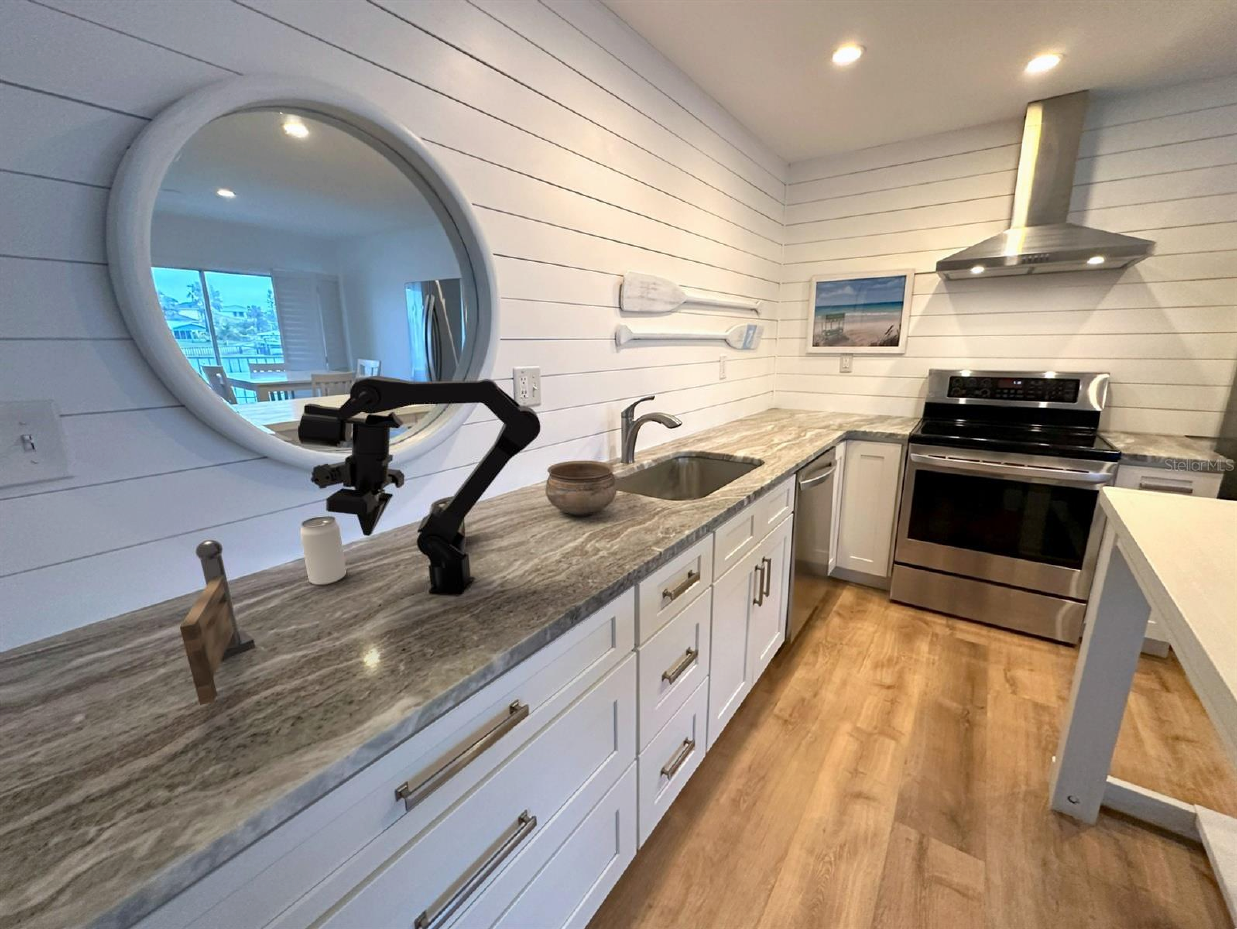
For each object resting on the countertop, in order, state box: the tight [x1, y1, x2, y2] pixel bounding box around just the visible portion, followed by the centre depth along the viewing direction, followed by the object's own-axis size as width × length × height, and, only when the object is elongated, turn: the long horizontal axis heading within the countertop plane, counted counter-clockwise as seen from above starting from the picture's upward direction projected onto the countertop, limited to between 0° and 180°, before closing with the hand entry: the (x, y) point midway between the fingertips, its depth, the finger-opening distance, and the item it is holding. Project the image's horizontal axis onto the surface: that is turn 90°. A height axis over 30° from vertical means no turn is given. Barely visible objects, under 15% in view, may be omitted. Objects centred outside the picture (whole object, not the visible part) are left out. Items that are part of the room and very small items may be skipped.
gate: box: [179, 575, 239, 706], centre depth 66 cm, size 14×1×11 cm, turn 26°
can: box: [300, 515, 347, 586], centre depth 96 cm, size 6×6×12 cm
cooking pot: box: [545, 460, 618, 518], centre depth 132 cm, size 25×19×12 cm
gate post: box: [195, 539, 256, 662], centre depth 73 cm, size 4×4×18 cm
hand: (367, 534), depth 88 cm, fingers closed
